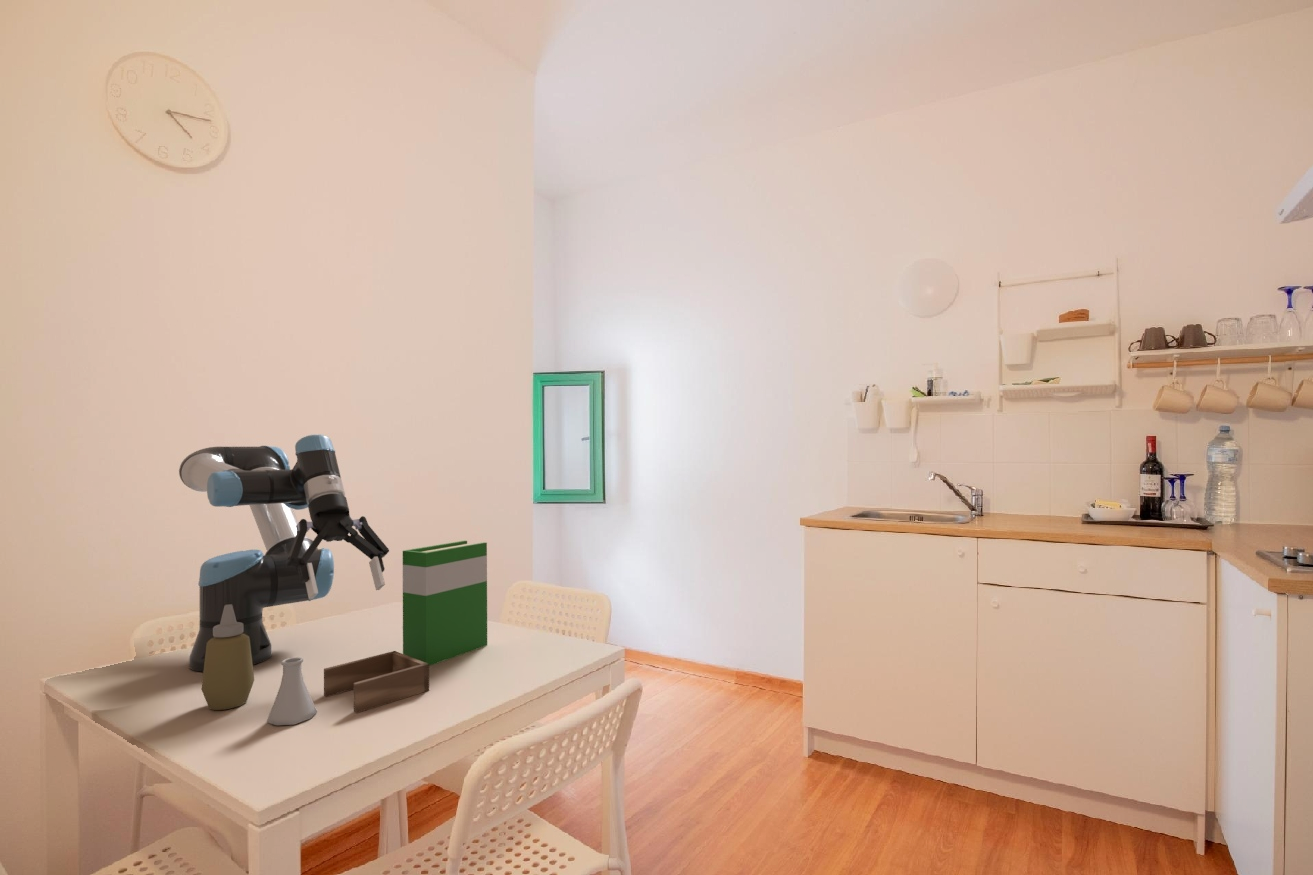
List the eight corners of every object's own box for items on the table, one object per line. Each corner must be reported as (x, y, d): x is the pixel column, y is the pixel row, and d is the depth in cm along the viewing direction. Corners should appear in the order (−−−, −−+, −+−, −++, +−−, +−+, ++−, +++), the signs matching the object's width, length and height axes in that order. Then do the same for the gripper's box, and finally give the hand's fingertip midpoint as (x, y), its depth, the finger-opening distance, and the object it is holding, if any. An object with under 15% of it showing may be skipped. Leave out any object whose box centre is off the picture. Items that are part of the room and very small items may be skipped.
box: (323, 695, 124) (323, 668, 124) (394, 675, 135) (394, 650, 135) (356, 713, 116) (356, 684, 116) (429, 690, 126) (429, 663, 126)
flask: (295, 728, 110) (295, 667, 110) (257, 725, 111) (257, 665, 111) (325, 711, 117) (325, 654, 117) (289, 708, 118) (289, 652, 118)
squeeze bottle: (214, 717, 115) (215, 612, 115) (192, 707, 119) (192, 607, 119) (263, 701, 121) (263, 603, 122) (240, 693, 126) (240, 598, 126)
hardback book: (464, 640, 159) (464, 540, 159) (487, 645, 155) (486, 542, 155) (402, 661, 144) (402, 550, 144) (426, 667, 140) (425, 553, 140)
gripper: (269, 492, 131) (289, 591, 123) (389, 490, 150) (413, 576, 142) (256, 511, 135) (275, 608, 127) (375, 507, 154) (397, 591, 146)
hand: (348, 591), depth 134 cm, fingers open, 13 cm apart
